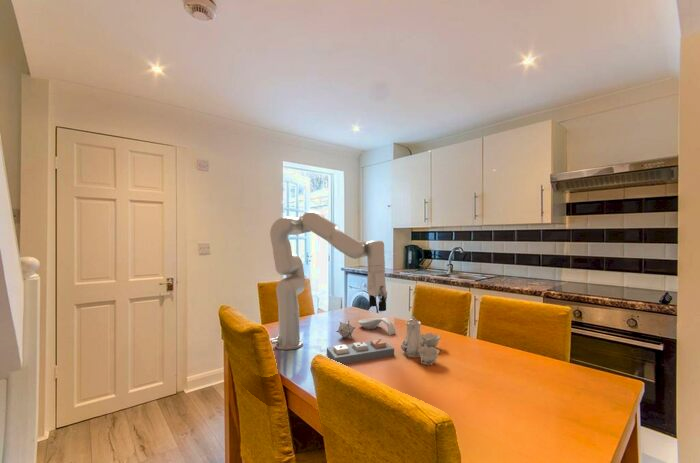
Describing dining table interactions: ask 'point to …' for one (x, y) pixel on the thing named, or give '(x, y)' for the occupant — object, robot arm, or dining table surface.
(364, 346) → the button two
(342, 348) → the button one
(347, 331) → the spiky ball
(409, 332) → the chinaware
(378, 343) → the button three
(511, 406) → the dining table surface
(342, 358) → the button panel
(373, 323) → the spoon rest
